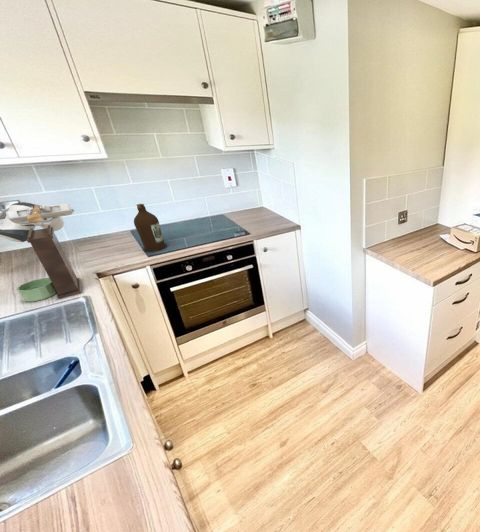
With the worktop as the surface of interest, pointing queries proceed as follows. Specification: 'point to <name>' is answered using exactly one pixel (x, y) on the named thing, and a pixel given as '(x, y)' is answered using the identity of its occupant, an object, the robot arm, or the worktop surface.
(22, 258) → the worktop surface
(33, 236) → the dark wood pillar
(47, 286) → the bowl
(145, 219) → the olive oil
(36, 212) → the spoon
